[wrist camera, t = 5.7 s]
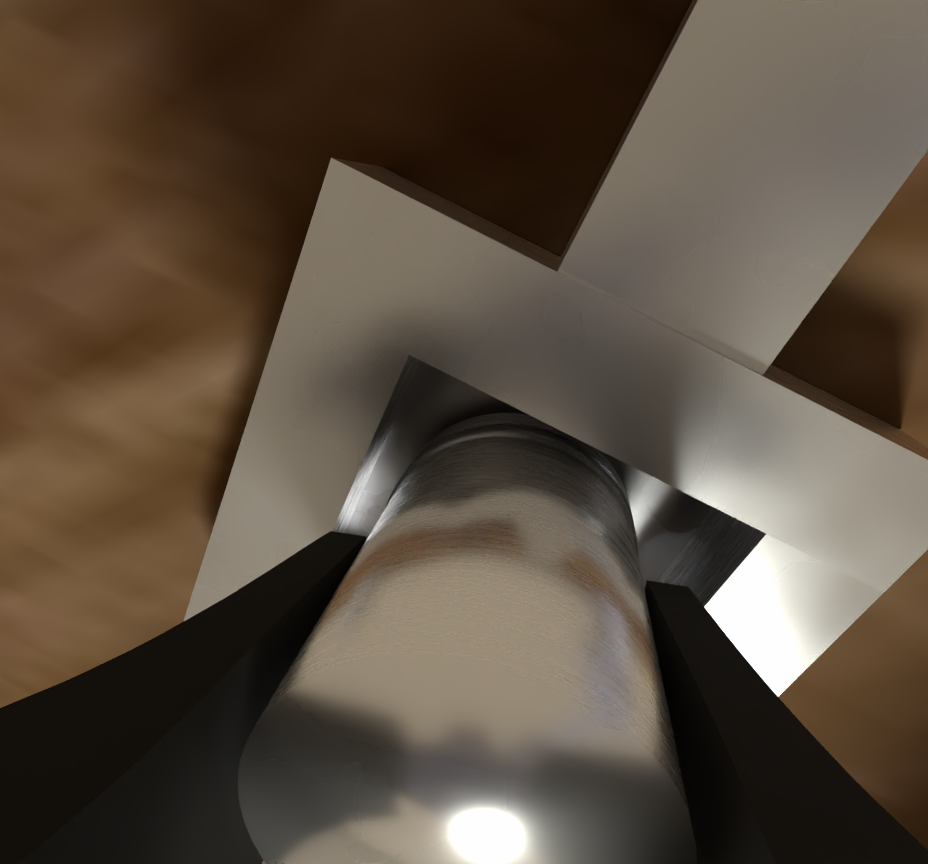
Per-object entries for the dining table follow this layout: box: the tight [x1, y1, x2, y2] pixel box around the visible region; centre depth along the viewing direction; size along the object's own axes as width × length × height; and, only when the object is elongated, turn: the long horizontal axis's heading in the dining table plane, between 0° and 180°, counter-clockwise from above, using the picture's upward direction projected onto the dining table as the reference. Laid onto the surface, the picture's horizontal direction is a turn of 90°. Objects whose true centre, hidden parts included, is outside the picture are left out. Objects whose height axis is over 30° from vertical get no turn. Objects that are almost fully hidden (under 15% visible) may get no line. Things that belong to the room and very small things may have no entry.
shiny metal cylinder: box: [238, 413, 697, 864], centre depth 8 cm, size 4×4×6 cm
